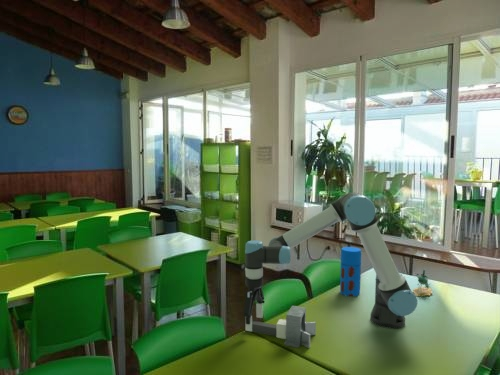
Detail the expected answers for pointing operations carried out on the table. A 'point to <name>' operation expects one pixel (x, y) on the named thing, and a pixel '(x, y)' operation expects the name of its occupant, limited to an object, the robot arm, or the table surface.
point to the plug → (270, 328)
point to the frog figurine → (422, 290)
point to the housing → (298, 328)
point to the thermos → (350, 271)
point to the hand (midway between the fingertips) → (254, 323)
